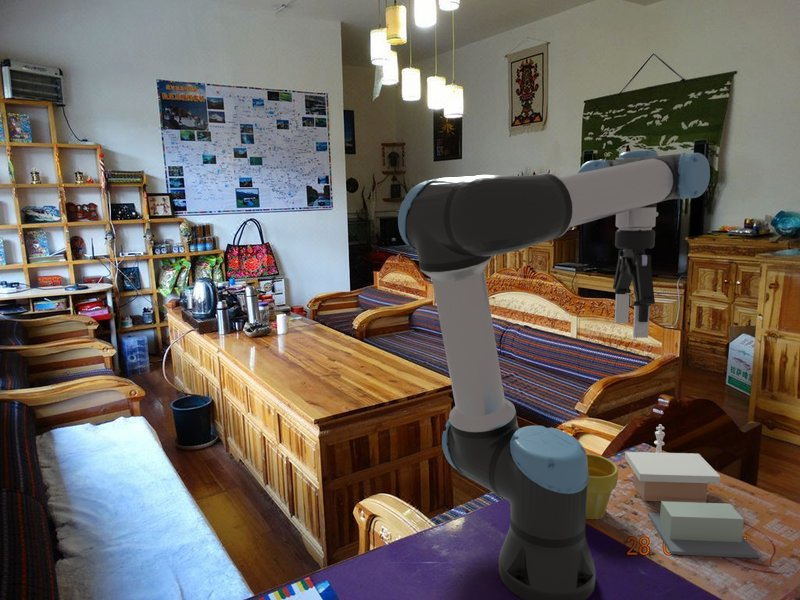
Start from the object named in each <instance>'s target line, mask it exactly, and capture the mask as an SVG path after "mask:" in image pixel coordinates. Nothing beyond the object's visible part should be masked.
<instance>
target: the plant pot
mask: <svg viewBox="0 0 800 600" xmlns="http://www.w3.org/2000/svg"><path fill="white" fill-rule="evenodd" d="M586 455H587V467H588V473H589V480H588V484H587V504H586V520H588V519H596V518H600V519H602V518H603V517H604V516H605V515H604V514H606V511H607V509H608V508H607V507H608V505H609V501H610V499H611V498H610V497H611V496H612V495H611V494H612V491H613V490H614V489H616V487H617V485H618V476H619V470H618V465H616V464H615V463H614V462H613V461H612V460H610V459H608V458H606V457H605V456H601V455H598V454H593V453H587V452H586ZM602 516H603V517H602ZM601 517H602V518H601ZM596 520H597V519H596Z"/></svg>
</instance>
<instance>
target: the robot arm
mask: <svg viewBox="0 0 800 600" xmlns="http://www.w3.org/2000/svg"><path fill="white" fill-rule="evenodd" d="M710 178H711V168H710V164H709V160H708V159H707V157H706V155H704V154H702V153H701V152H687V153H686V152H681V153H676V154H664V155H662V154H661V155H659V153H658V152H657V151H655V150H631V151H630V150H629V151H624V152H622V153H620V154H619V156H618V159H603V158H602V159H601V158H600V159H597V160H596V159H595V160H594V159H592V160H589V161H586V162H585V163H583V164H582V165H581V166H580V168H579V169H578V171H577V172H576V173H573V174H569V175H563V176H558V175H556V174H553V173H550V172H549V173H548V172H544V173H538V174H532V175H530V174H529V175H505V174H502V175H501V174H480V175H474V176H473V175H472V176H469V175H468V176H457V177H456V176H455V177H441V178H440V177H438V178H433V179H430V180H425V181H422V182H420V183H418V184H416V185H415V186H413V187H412V188H411V189H410V190H409V191H408V192H407V194H406V195H405V197H404V199H403V200H402V203H401V204H400V207H399V210H398V216H397V225H398V230H399V234H400V236H401V239H402V240H403V242H404V243H405V244H406V245H407V246H408V247H409V248H410V249H412V250H414V251H416V254H417V258H418V264H419V270H420V272H422V273H423V274H424V275H426V276H428V277H429V278H430V279H431V284H432V288H433V293H434V298H435V304H436V309H437V315H438V319H439V325H440V331H441V337H442V341H443V345H444V346H443V347H444V353H445V358H446V361H447V368H448V373H449V378H450V383H451V388H452V395H453V400H454V404H455V405H454V406H453V408H452V409H451V410H450V412H449V415H448V417H449V418H448V420H447V421H446V423H445V428H446V429H445V430H443V431H442V437H441V447H442V451H443V454H444V457H445V458H446V459H445V460H446V461H447V462H448V463H449V464H450V465H451V467H453V468H454V469H455V470H457V472H458V473H459V474H461V475H462V476H463V477H465V478H468V479H469V480H471V481H473V482H475V483H477V484H478V485H480V486H482V487H484V488H486V489H487V490H489V491H490V492H492V493H494V494H495V495H498V496H499V497H501V498H503V499H504V500H506V501H507V502H508V503H509V504H510V507H509V509H510V515H509V516H510V517H509V519H510V520H509V522H510V523H509V528H508V531H507V533H506V536H505V539H504V541H503V543H502V546H501V549H500V552H499V556H498V574H499V577H500V580H501V581H502V583H503V584H504V586H505V587H506V588H507V589H508V590H509V591H510V593H513V594H514V595H516V596H517V597H519V598H520V599H523V600H587V599H589V598H590V596H591V595H592V594H593V592H594V590H595V586H596V567H595V563H594V560H593V557H592V553H591V550H590V547H589V545H588V541H587V537H586V522H587V519H586V504H587V484H588V480H589V473H588V467H587V455H586V453H587V451H586V449H585V447H584V446H583V444H582V443H581V442H580V441H579V440H578V439H577V438H575V437H574V436H573V435H571V434H570V433H568V432H565V431H563V430H560V429H558V428H554V427H552V426H551V427H545V426H544V425H527V426H523V427H519V424H518V418H517V411H516V408H515V405H514V403H513V402H511V401H510V400H508V399H507V398H505V394H504V393H505V392H504V387H503V381H502V380H503V379H502V374H501V368H500V367H501V366H500V361H499V360H500V359H499V353H498V349H497V343H496V336H495V331H494V324H493V318H492V310H491V304H490V297H489V292H488V286H487V279H486V273H485V269H486V267H487V265H488V264H489V263H490V262H491V260H492V258H493V256H498V255H501V256H502V255H504V254H508V253H511V252H516V251H519V250H522V249H523V250H524V249H526V248H530V247H533V246H536V245H539V244H541V243H545V242H548V241H552V240H553V241H554V240H556V239H559V238H560V237H562V236H563V235H565V234H566V232H567V231H568V230H569V229H570V228H573V227H576V226H579V225H583V224H587V223H589V222H594V221H596V220H599V219H600V220H601V219H604V218H607V217H611V216H615V227H616V228H618V229H616V231H615V235H614V236H615V237H614V246H615V248H617V249H619V250H618V257H617V258H618V259H617V264H616V269H615V270H616V271H615V275H614V279H613V285H612V288H613V290H614V292H615V306H614V308H615V309H614V324H629V313H630V311H629V310H630V294H631V293H632V290H631V284H632V285H633V286H632V287H633V292H634V297H635V298H634V299H635V300H634V301H633V302H632V306H633V307H634V308H633V309H634V310H633V324H632V326H633V327H632V328H633V329H632V337H633V338H635V339H637V338H638V339H639V338H640V339H642V338H644V339H646V338H647V339H648V338H649V329H650V312H651V311H650V310H651V309H650V308H651V306H652V305H655V302H656V300H655V291H654V281H653V272H652V255H651V254H646V252H645V250H647V249H648V250H649V249H653V248H654V247H655V242H656V241H655V239H656V231H655V229H653V228H654V227H656V220H657V219H656V217H658V216H659V211H657V205H658V204H657V203H661V202H664V201H668V200H677V199H681V200H685V199H696V198H699V197H700V196H702V195H703V194H704V193H705V192H706V191H707V189H708V186H709V183H710Z"/></svg>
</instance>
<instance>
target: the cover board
mask: <svg viewBox="0 0 800 600" xmlns="http://www.w3.org/2000/svg"><path fill="white" fill-rule="evenodd" d="M624 453H625V455H624V458H625V460H626V462H627V464H628V465H629V467H630V469H631V470H632V472H633V473H635V474H636V476H637V477H638V479H639V481H651V482H684V483H708V484H721V475H720V474H719V473H718V472H717V471H716V470H715V469H714V468H713V467H712V466H711V465H710V464H709V463H708V462H707V461H706V460H705V459H704V457H702V455H701V454H700V453H691V452H690V453H687V452H662V453H656V452H649V451H648V452H647V451H646V452H645V451H642V452H641V451H625V452H624Z"/></svg>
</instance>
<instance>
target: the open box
mask: <svg viewBox="0 0 800 600" xmlns="http://www.w3.org/2000/svg"><path fill="white" fill-rule="evenodd" d="M632 475H633V477H632V478H633V479H632V485H633V486H634V488H635V489H636V491H637V493H638V495H640V497H641V499H642V500H643V502H645V501H646V502H661V501H665V502H695V503H707V498H708V485H709V483H684V482H651V481H639V479H638V477H637V476H636V474H635V473H634V472H633V474H632Z"/></svg>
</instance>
